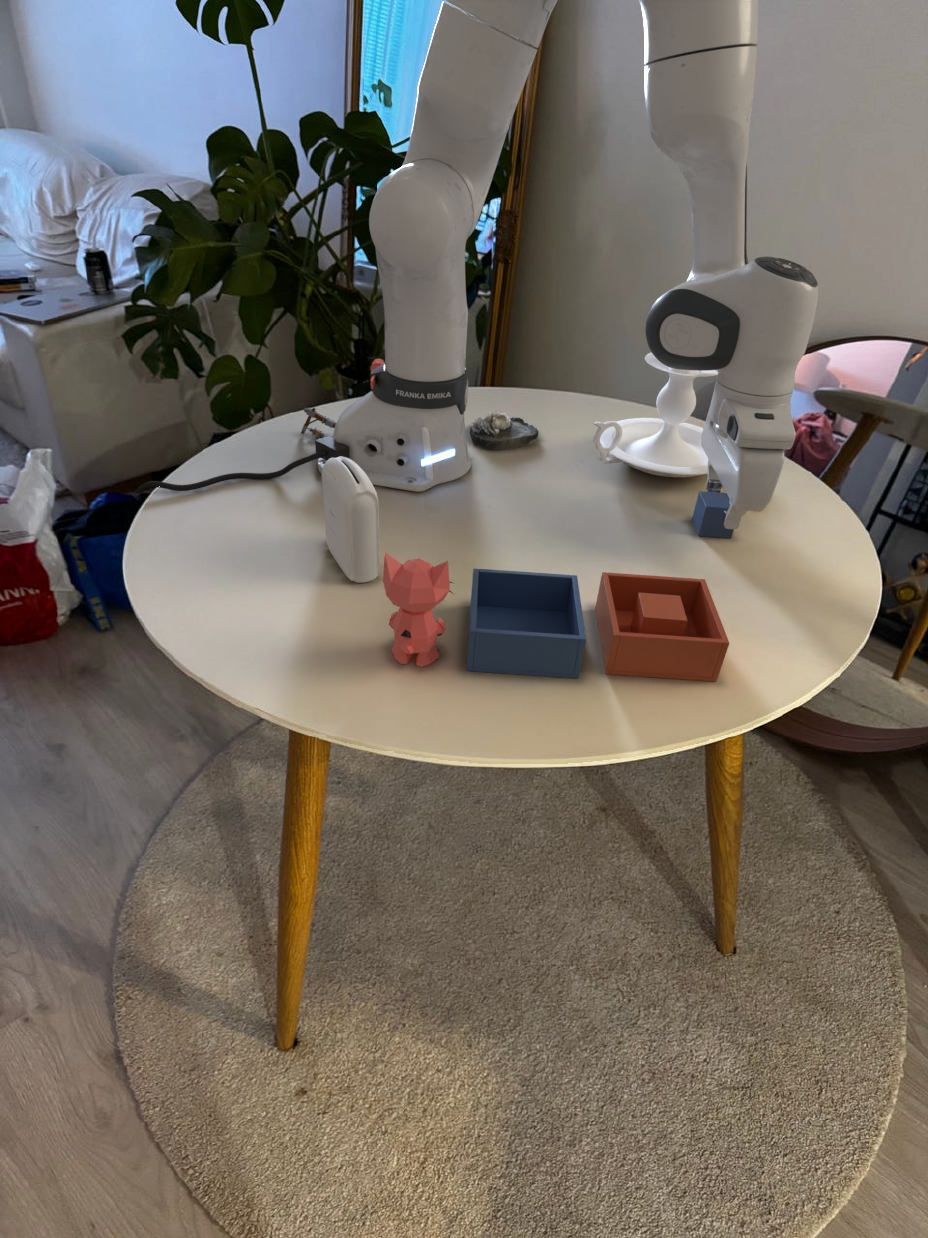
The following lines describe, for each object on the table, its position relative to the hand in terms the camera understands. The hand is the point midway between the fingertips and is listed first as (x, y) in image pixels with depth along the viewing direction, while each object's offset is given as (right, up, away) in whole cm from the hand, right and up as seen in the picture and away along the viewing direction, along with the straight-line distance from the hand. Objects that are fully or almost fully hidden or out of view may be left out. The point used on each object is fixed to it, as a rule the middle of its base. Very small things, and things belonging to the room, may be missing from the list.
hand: (720, 508), depth 100 cm
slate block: (-1, -2, +2) cm, 3 cm away
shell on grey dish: (-28, +15, +23) cm, 39 cm away
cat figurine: (-39, -19, -23) cm, 49 cm away
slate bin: (-28, -17, -20) cm, 38 cm away
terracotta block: (-14, -17, -19) cm, 29 cm away
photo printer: (-47, -8, -9) cm, 49 cm away
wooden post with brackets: (-55, +14, +19) cm, 60 cm away
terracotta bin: (-14, -17, -19) cm, 29 cm away
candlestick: (-5, +9, +17) cm, 20 cm away
